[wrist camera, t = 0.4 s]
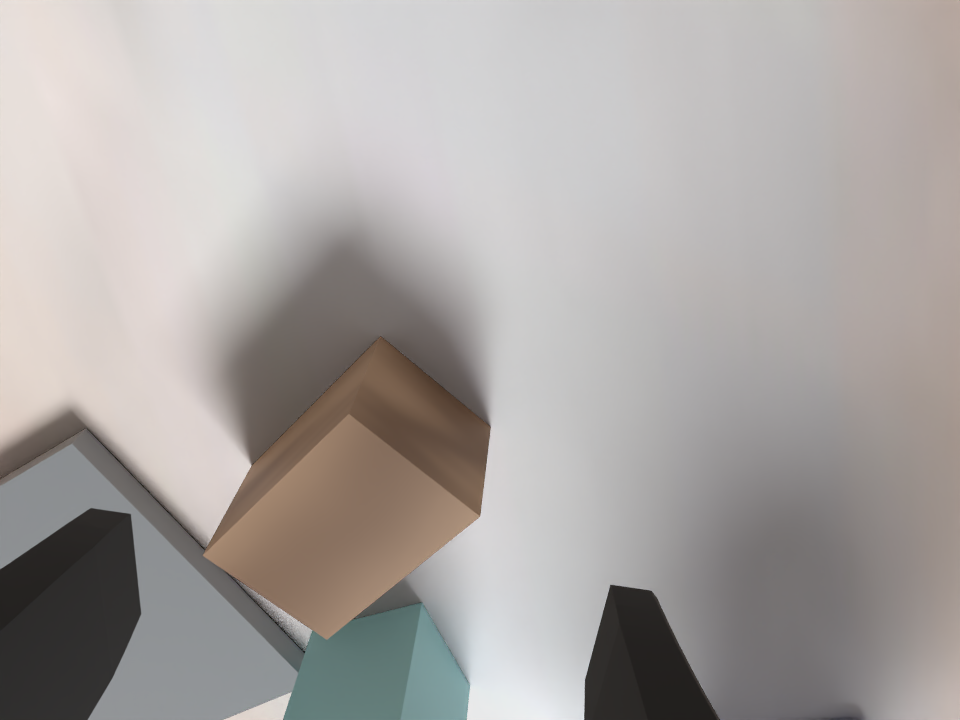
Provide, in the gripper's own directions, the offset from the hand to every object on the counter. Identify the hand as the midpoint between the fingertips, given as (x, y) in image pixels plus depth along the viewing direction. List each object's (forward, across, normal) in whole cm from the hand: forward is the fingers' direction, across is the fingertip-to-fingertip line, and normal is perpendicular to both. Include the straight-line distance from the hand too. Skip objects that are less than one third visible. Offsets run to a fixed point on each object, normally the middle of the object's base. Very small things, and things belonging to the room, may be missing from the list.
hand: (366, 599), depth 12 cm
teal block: (+10, 0, +13) cm, 16 cm away
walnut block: (+10, +2, +4) cm, 11 cm away
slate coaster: (+10, +11, +13) cm, 20 cm away
